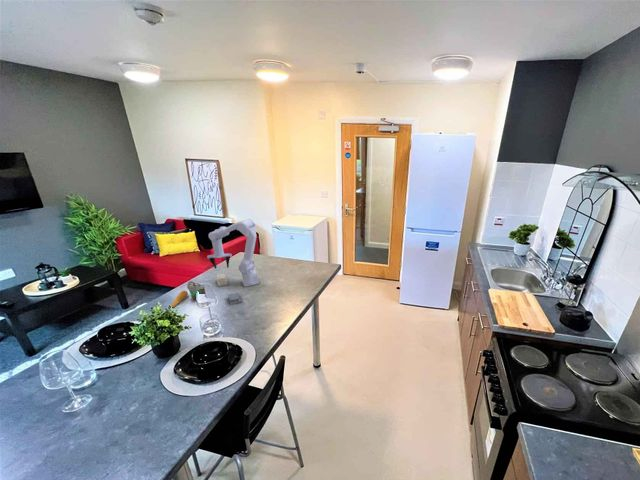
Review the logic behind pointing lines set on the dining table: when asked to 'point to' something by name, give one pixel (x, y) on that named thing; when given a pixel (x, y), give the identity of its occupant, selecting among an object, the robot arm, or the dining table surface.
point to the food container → (195, 289)
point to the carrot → (180, 298)
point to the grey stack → (234, 298)
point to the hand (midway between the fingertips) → (221, 267)
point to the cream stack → (222, 282)
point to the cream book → (221, 277)
